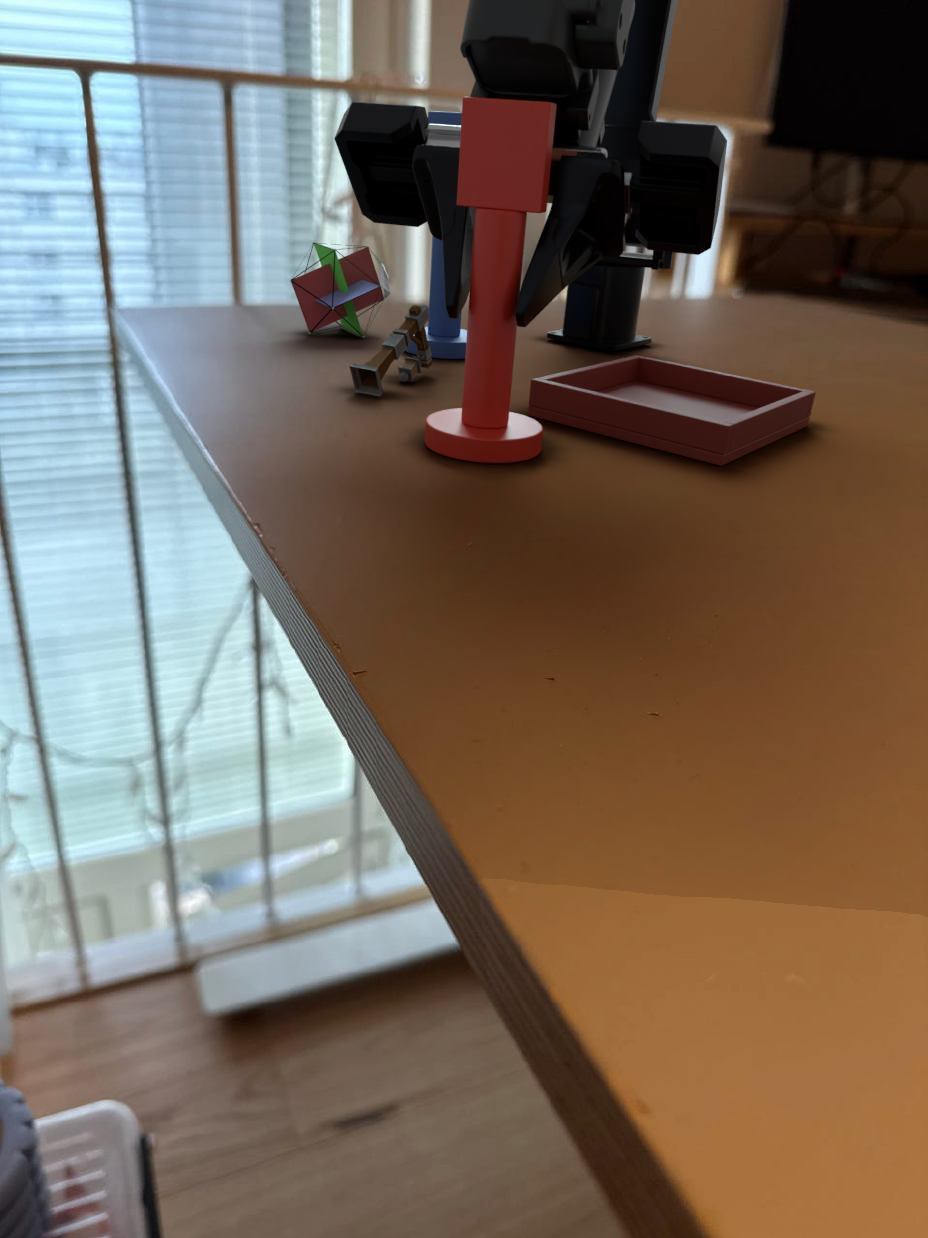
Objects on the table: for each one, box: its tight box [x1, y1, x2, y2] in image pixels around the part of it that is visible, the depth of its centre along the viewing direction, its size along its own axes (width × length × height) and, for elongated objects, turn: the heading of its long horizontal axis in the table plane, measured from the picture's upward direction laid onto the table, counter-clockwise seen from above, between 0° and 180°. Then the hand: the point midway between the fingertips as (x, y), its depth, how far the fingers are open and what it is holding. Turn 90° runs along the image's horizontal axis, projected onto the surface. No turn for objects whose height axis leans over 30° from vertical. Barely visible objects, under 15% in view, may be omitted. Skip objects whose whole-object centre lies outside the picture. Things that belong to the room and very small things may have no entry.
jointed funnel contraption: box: [348, 303, 433, 397], centre depth 58 cm, size 2×8×4 cm, turn 153°
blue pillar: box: [404, 110, 467, 360], centre depth 65 cm, size 6×6×16 cm
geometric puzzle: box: [289, 241, 391, 338], centre depth 71 cm, size 7×7×8 cm
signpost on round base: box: [424, 96, 557, 464], centre depth 44 cm, size 6×6×16 cm
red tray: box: [527, 354, 817, 467], centre depth 54 cm, size 12×12×2 cm
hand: (484, 316), depth 44 cm, fingers closed on signpost on round base, 3 cm apart
